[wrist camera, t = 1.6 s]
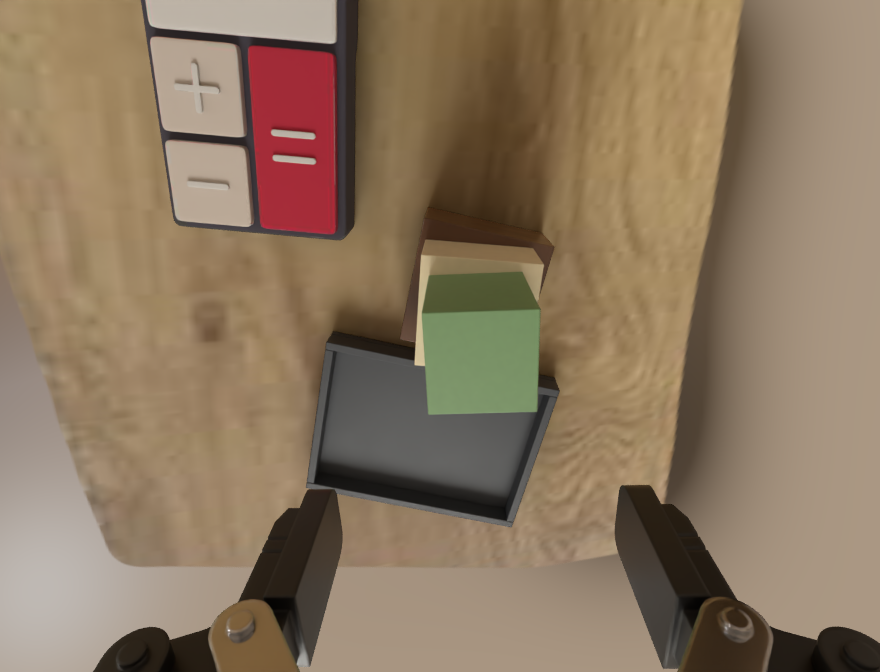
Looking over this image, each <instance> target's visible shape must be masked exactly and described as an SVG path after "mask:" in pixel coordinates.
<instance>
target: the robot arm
mask: <svg viewBox="0 0 880 672" xmlns="http://www.w3.org/2000/svg"><path fill="white" fill-rule="evenodd" d="M615 540H616V546H617V550H618V553H619V556H620V558H621V561H622V563H623V566H624V569H625V571H626V573H627V576H628V579H629V582H630V584H631V586H632V589H633V592H634V595H635V597H636V600H637V602H638V605H639V608H640V610H641V613H642V615H643V618H644V621H645V623H646V626H647V628H648V631H649V634H650V636H651V639H652V641H653V644H654V647H655V649H656V651H657V654H658V657H659V660H660V662H661V665H662V667H663V668H664V669H667V668H669V669H675V668H676V669H677V668H678V672H880V643H878V642H877V641H875V640H874V639H872V638H870V637H869V636H867V635H865V634H863V633H860V632H858V631H855V630H852V629H849V628H845V627H829V628H826V629H824V630H823V631H822V632H821V633H820V634H819V636H818V639H817V640H814V639H810V638H806V637H803V636H799V635H796V634H792V633H788V632H784V631H781V630H778V629H775V628H773V627H771V626H769V625H768V623H767V622H766V621H765V619H764V618H763V617H762V616H761V615H760V614H759V613H758V612H757V611H755V610H754V609H753V608H751V607H750V606H748V605H746V604H745V603H743V602H741V601H738V600H737V599H736V597H735V595H734V594H733V592H732V590H731V589H730V587H729V585H728V584H727V582H726V581H725V579H724V577H723V575H722V574H721V572H720V570H719V569H718V567H717V565H716V564H715V562H714V560H713V559H712V557H711V555H710V554H709V552H708V550H706V549H705V545H704V544H703V542H702V540H701V539H700V537H698V534H697V532H696V530H695V529H694V527H693V525H692V524H691V522H690V520H689V519H688V517H687V516H685V515H684V514H683V513H682V512H681V511H679V510H678V509H677V508H676V507H675V506H674V505H672V504H661V503H660V501H659V499H658V498H657V496H656V494H655V492H654V490H653V489H652V487H651V486H650V485H622V486H621V487H620V490H619V497H618V505H617V514H616V522H615ZM341 549H342V526H341V519H340V513H339V506H338V500H337V494H336V491H335V489H309V490H307V492H306V494H305V496H304V499H303V501H302V504H301V506H300V508H288V509H287V510H286V511H285V512H284V513H283V514H282V515H281V516H280V518H279V519H278V520H277V521H276V522H275V523H274V525H273V528H272V530H271V532H270V534H269V536H268V540H267V541H266V543H265V545H264V547H263V549H262V553H261V554H260V556H259V558H258V560H257V562H256V565H255V567H254V569H253V571H252V573H251V576H250V578H249V580H248V582H247V584H246V586H245V588H244V591H243V593H242V595H241V597H240V599H239V601H238V603H236V604H233V605H232V606H230V607H228V608H227V609H226V610H224V611H223V612H222V613H221V614H220V615H219V616H218V617H217V618H216V619H215V621H214V623H213V624H212V626H211V627H209V628H207V629H205V630H202V631H199V632H195V633H192V634H189V635H185V636H182V637H179V638H176V639H172V640H169V637H168V635H167V633H166V632H165V631H164V630H162V629H160V628H156V627H147V628H143V629H138V630H136V631H133V632H131V633H130V634H127V635H126V636H124V637H122V638H121V639H120V640H118V641H117V642H116V643H114V644H113V645H112V646H111V647H110V648H109V649H108V650H107V652H106V653H105V654H104V655H103V657H102V658H101V660H100V662H99V663H98V665H97V667H96V668H95V670H94V671H93V672H300V671H299V669H298V667H310V665H311V661H312V657H313V654H314V650H315V646H316V643H317V639H318V635H319V631H320V628H321V624H322V621H323V617H324V613H325V610H326V606H327V602H328V598H329V595H330V591H331V587H332V584H333V580H334V576H335V573H336V569H337V565H338V562H339V558H340V554H341Z"/></svg>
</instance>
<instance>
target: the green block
mask: <svg viewBox="0 0 880 672" xmlns="http://www.w3.org/2000/svg"><path fill="white" fill-rule="evenodd" d="M422 328H423V343H424V359H425V374H426V389H427V405H428V414H429V415H433V414H472V413H510V412H537V406H538V374H539V342H540V307H539V305H538V303H537V301H536V299H535V297H534V295H533V293H532V291H531V289H530V286H529V284H528V282H527V280H526V278H525V276H524V274H523V272H500V273H474V274H448V275H429V277H428V282H427V287H426V293H425V298H424V303H423V309H422Z"/></svg>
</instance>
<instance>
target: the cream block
mask: <svg viewBox="0 0 880 672" xmlns="http://www.w3.org/2000/svg"><path fill="white" fill-rule="evenodd" d="M543 268H544V264H543V262H542V261H541V259H540V258H539V256H538V255H537V253H536V252H535V250H534V249H533V248H526V247H513V246H501V245H488V244H476V243H464V242H451V241H439V240H425V243H424V247H423V250H422V254H421V265H420V281H419V298H418V314H417V331H416V347H415V363H414V364H415V365H418V366H425V359H424V343H423V328H422V309H423V303H424V298H425V293H426V287H427V282H428V277H429V275H448V274H474V273H500V272H523V274H524V276H525V278H526V280H527V282H528V284H529V286H530V289H531V291H532V293H533V295H534V297H535V299H536V301H537V303H538V300H539V294H540V287H541V281H542V275H543Z"/></svg>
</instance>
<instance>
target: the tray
mask: <svg viewBox="0 0 880 672" xmlns="http://www.w3.org/2000/svg"><path fill="white" fill-rule="evenodd" d="M414 363H415V348H410V347H406V346H401V345H396V344H391V343H387V342H382V341H377V340H372V339H368V338H363V337H358V336H353V335H349V334H344V333H339V332H334V331H333V332H332V334H331V336H330V337H329V339H328V341H327V342H326V350H325V356H324V363H323V370H322V377H321V384H320V391H319V399H318V406H317V413H316V420H315V427H314V434H313V441H312V448H311V456H310V463H309V470H308V477H307V484H306V488H309V489H335V491H336V494H341V495H346V496H351V497H356V498H361V499H367V500H372V501H377V502H382V503H387V504H393V505H398V506H403V507H408V508H413V509H419V510H424V511H429V512H434V513H439V514H445V515H450V516H455V517H460V518H465V519H471V520H476V521H481V522H486V523H491V524H497V525H502V526H507V527H512V525H513V522H514V519H515V516H516V513H517V511H518V508H519V505H520V502H521V499H522V496H523V494H524V491H525V488H526V485H527V482H528V479H529V477H530V474H531V471H532V468H533V465H534V462H535V460H536V457H537V454H538V451H539V448H540V446H541V443H542V440H543V437H544V434H545V431H546V429H547V426H548V423H549V420H550V417H551V414H552V412H553V409H554V406H555V403H556V400H557V397H558V394H559V392H560V390H559V388H558V385H557V383H556V380H555V378H553V377H548V376H543V375H539V374H538V406H537V412H510V413H472V414H433V415H429V414H428V405H427V389H426V374H425V366H418V365H415V364H414Z"/></svg>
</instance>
